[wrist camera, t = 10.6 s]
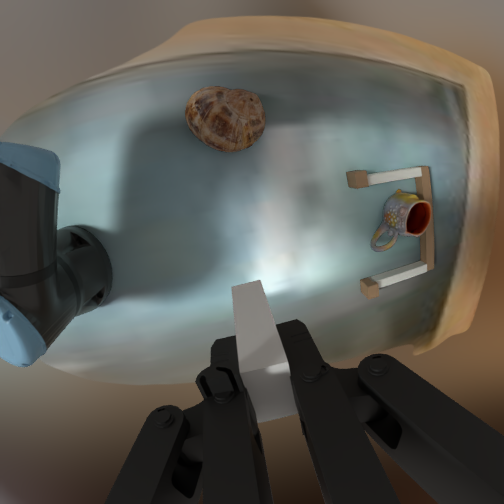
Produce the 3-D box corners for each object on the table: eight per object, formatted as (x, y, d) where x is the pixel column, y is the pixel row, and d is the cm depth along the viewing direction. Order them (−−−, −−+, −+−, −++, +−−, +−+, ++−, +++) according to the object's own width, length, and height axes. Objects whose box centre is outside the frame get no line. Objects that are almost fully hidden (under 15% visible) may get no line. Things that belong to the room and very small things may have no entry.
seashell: (248, 72, 34) (266, 86, 28) (260, 123, 41) (278, 150, 34) (178, 92, 34) (177, 111, 28) (196, 142, 41) (199, 173, 34)
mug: (401, 183, 41) (424, 186, 35) (417, 214, 43) (440, 221, 37) (351, 226, 43) (370, 235, 36) (371, 256, 45) (390, 270, 38)
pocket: (361, 291, 46) (368, 299, 43) (346, 172, 40) (354, 172, 37) (427, 269, 46) (437, 275, 43) (420, 160, 40) (431, 161, 37)
